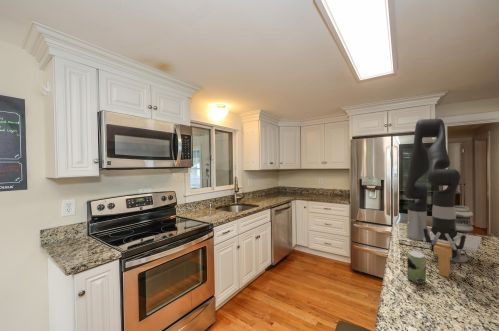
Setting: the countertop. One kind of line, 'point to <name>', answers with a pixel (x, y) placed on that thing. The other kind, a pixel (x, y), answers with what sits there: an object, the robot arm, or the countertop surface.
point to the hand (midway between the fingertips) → (444, 255)
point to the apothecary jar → (463, 219)
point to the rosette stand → (469, 244)
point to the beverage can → (416, 266)
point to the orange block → (443, 257)
